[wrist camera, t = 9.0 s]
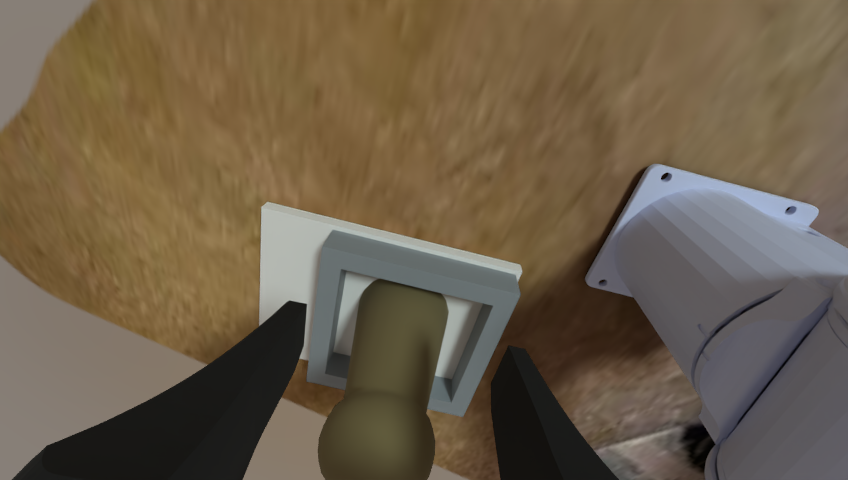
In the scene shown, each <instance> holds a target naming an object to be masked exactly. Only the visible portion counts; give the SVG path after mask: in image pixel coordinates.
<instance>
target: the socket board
mask: <svg viewBox="0 0 848 480" xmlns="http://www.w3.org/2000/svg"><path fill="white" fill-rule="evenodd" d="M521 274H522V269H521V265H519V264H515V263H511V262H507V261H503V260H499V259H495V258H491V257H487V256H483V255H479V254H475V253H471V252H467V251H463V250H459V249H455V248H451V247H447V246H443V245H439V244H435V243H431V242H427V241H423V240H419V239H415V238H411V237H407V236H403V235H399V234H395V233H391V232H387V231H383V230H379V229H375V228H371V227H367V226H363V225H359V224H355V223H351V222H347V221H343V220H339V219H335V218H331V217H327V216H323V215H319V214H315V213H311V212H307V211H303V210H299V209H295V208H291V207H287V206H282V205H278V204H274V203H270V202H267V203H266V204H265V205H263V206H262V210H261V261H260V311H259V326H260V325H261V324H263V323H264V322H265V321H266V320H267V319H268V318H269V317H271V316H272V315H273V314H274V313H275V312H276V311H277V310H278V309H279V308H281V307H282V306H283V305H284V304H285V303H286V302H288V301H289V300H290V301H295V302H300V303H305V304H307V312H306V325H305V337H304V347H303V350H302V352H301V355H300V359H304V360H308V361H309V362H308V371H307V379H306V381H307V382H311V383H316V384H320V385H325V386H329V387H333V388H338V389H342V390H345V388H346V382H347V376H348V369H349V363H350V357H351V350H352V344H353V338H354V332H355V325H356V319H357V313H358V306H359V300H360V298H361V296H362V293H363V291H364V290H365V289H366V288H367V287H368V286H369V285H370V284H371V283H372V282H373V281H375V280H377V279H385V280H389V281H393V282H397V283H401V284H405V285H409V286H413V287H418V288H422V289H426V290H430V291H434V292H438V293H441V294H442V295H443V297H444V298H445V300H446V302H447V306H448V310H449V314H448V319H447V325H446V329H445V333H444V338H443V342H442V346H441V351H440V355H439V359H438V364H437V368H436V373H435V377H434V381H433V386H432V390H431V394H430V399H429V403H428V407H427V409H430V410H435V411H439V412H443V413H448V414H452V415H457V416H461V417H463V416H464V414H465V412H466V410H467V408H468V405H469V403H470V401H471V399H472V397H473V395H474V393H475V391H476V388H477V386H478V384H479V382H480V380H481V378H482V376H483V374H484V372H485V369H486V367H487V365H488V363H489V361H490V359H491V357H492V355H493V352H494V350H495V348H496V346H497V344H498V342H499V340H500V338H501V335H502V333H503V331H504V329H505V327H506V325H507V323H508V321H509V319H510V316H511V314H512V312H513V310H514V308H515V306H516V304H517V302H518V299H519V297H520V295H521V294H520V290H519V286H518V280H519V278H520V276H521Z"/></svg>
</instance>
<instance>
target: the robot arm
mask: <svg viewBox="0 0 848 480" xmlns="http://www.w3.org/2000/svg"><path fill="white" fill-rule="evenodd" d="M665 173H668V176H667V177H666V178H665V179H663V180H661V176H662V175H663V174H665ZM788 207H790V209H789V210H788V211H786V209H787V208H788ZM818 212H819V210H818V208H816V207H814V206H812V205H810V204H807V203H803V202H800V201H796V200H792V199H788V198H785V197H781V196H777V195H773V194H770V193H766V192H762V191H759V190H755V189H751V188H747V187H744V186H740V185H736V184H732V183H729V182H725V181H721V180H717V179H714V178H710V177H706V176H702V175H699V174H695V173H691V172H687V171H684V170H680V169H676V168H673V167H669V166H665V165H661V164H653V165H651V166H649V167H648V168H647V169H646V170H645V172H644V174H643V176H642V177H641V179H640V181H639V183H638V184H637V186H636V188H635V190H634V191H633V193H632V195H631V197H630V198H629V200H628V202H627V204H626V206H625V207H624V209H623V211H622V213H621V214H620V216H619V218H618V220H617V221H616V223H615V225H614V227H613V229H612V230H611V232H610V234H609V236H608V237H607V239H606V241H605V243H604V244H603V246H602V248H601V250H600V252H599V253H598V255H597V257H596V259H595V260H594V262H593V264H592V266H591V267H590V269H589V271H588V273H587V275H586V277H585V281H586V283H587V284H588V286H590V287H593V288H597V289H602V290H606V291H610V292H614V293H618V294H622V295H626V296H630V297H634V299H635V300H636V302H637V303H638V305H639V306H640V308H641V309H642V311H643V312H644V314H645V315H646V317H647V318H648V320H649V321H650V323H651V324H652V326H653V327H654V329H655V330H656V332H657V333H658V335H659V336H660V338H661V339H662V341H663V342H664V344H665V345H666V347H667V348H668V350H669V351H670V353H671V354H672V356H673V357H674V359H675V360H676V362H677V363H678V365H679V366H680V368H681V369H682V371H683V372H684V374H685V375H686V377H687V378H688V380H689V381H690V383H691V384H692V386H693V387H694V389H695V391H696V392H697V394H698V395H699V397H700V399H701V401H702V411H701V413H700V415H699V418H700V420H701V422H702V423H703V425H704V426H705V428H706V430H707V431H708V433H709V434H710V436H711V438H712V439H713V441H714V442H715V444H716V445H715V446H714V447H713V448H712V450H711V451H710V452H709V455H708V457H707V459H706V464H705V471H704V473H705V480H848V248H846V247H844V246H842V245H840V244H839V243H837V242H835V241H833V240H831V239H830V238H828V237H826V236H824V235H822V234H821V233H819V232H817V231H815V230H813V229H812V228H810V227H808V226H809V225H810V224H811V223H812V221H813V220H814V219H815V218H816V217H817V215H818ZM600 280H605V281H604V282H602V283H599V281H600ZM306 312H307V304H305V303H300V302H295V301H290V300H289V301H288V302H286V303H285V304H284V305H283V306H282V307H281V308H279V309H278V310H277V311H276V312H275V313H274V314H273V315H272V316H271V317H269V318H268V319H267V320H266V321H265V322H264V323H263V324H261V325H260V326H259V327H258V328H257V329H255V330H254V331H253V332H252V333H250V334H249V335H248V336H247V337H245V338H244V339H243V340H242V341H240V342H239V343H238V344H236V345H235V346H234V347H232V348H231V349H230V350H228V351H227V352H226V353H224V354H223V355H221V356H220V357H219V358H217V359H216V360H214V361H213V362H212V363H210V364H209V365H207V366H206V367H204V368H203V369H201V370H199V371H198V372H196V373H195V374H193V375H192V376H190V377H189V378H187V379H185V380H183V381H182V382H180V383H178V384H177V385H175V386H173V387H172V388H170V389H168V390H166V391H164V392H163V393H161V394H159V395H157V396H156V397H154V398H152V399H150V400H148V401H146V402H144V403H142V404H140V405H138V406H136V407H134V408H132V409H130V410H128V411H126V412H124V413H122V414H120V415H117V416H115V417H114V418H111V419H109V420H107V421H105V422H103V423H101V424H99V425H96V426H94V427H91V428H89V429H87V430H84V431H82V432H79V433H77V434H75V435H72V436H70V437H67V438H65V439H63V440H60V441H58V442H55V443H53V444H50V445H47V446H46V447H45V448H44V449H43V450H42V451H41V452H40V453H39V454H38V455H36V456H35V457H34V458H33V459H32V460H31V461H30V462H29V463H28V464H27V465H26V466H25V467H24V468H23V469H22V470H21V471H20V472H19V473H18V474H17V475H16V476H15V477H14V478H13V479H12V480H242V479H243V477H244V475H245V472H246V470H247V467H248V465H249V462H250V460H251V458H252V455H253V453H254V450H255V448H256V446H257V444H258V441H259V439H260V437H261V435H262V433H263V431H264V429H265V427H266V425H267V423H268V422H269V419H270V418H271V416H272V414H273V412H274V410H275V408H276V406H277V404H278V402H279V400H280V399H281V397H282V395H283V393H284V391H285V389H286V387H287V385H288V383H289V381H290V379H291V377H292V375H293V373H294V371H295V368H296V365H297V363H298V360H299V358H300V355H301V352H302V350H303V347H304V337H305V325H306ZM491 413H492V421H493V428H494V435H495V442H496V449H497V456H498V464H499V471H500V478H501V480H619V479H618V478H617V477H616V476H615V475H614V474H613V473H612V472H611V470H610V469H609V468H608V467H607V466H606V465H605V464H604V462H603V461H602V460H601V459H600V458H599V456H598V455H597V454H596V453H595V452H594V450H593V449H592V448H591V447H590V445H589V444H588V443H587V442H586V440H585V439H584V438H583V437H582V435H581V434H580V433H579V431H578V430H577V429H576V427H575V426H574V424H573V423H572V422H571V420H570V419H569V418H568V416H567V415H566V413H565V412H564V410H563V409H562V407H561V406H560V404H559V403H558V401H557V400H556V398H555V397H554V395H553V394H552V392H551V391H550V389H549V387H548V386H547V384H546V383H545V381H544V379H543V378H542V376H541V374H540V373H539V371H538V370H537V368H536V366H535V365H534V363H533V361H532V360H531V358H530V356H529V355H528V353H527V351H526V350H525V349H523V348H518V347H513V346H508V348H507V350H506V352H505V354H504V356H503V358H502V361H501V363H500V365H499V367H498V369H497V371H496V374H495V376H494V378H493V380H492V382H491Z"/></svg>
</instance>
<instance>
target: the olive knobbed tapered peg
mask: <svg viewBox="0 0 848 480" xmlns="http://www.w3.org/2000/svg"><path fill="white" fill-rule="evenodd" d="M448 314H449V310H448V306H447V302H446V300H445V298H444V297H443V295H442V294H441V293H438V292H434V291H430V290H426V289H422V288H418V287H413V286H409V285H405V284H401V283H397V282H393V281H389V280H385V279H377V280H375V281H373V282H372V283H371V284H370V285H369V286H368V287H367V288H366V289H365V290H364V291H363V293H362V296H361V298H360V300H359V306H358V313H357V319H356V325H355V332H354V338H353V344H352V350H351V357H350V363H349V369H348V376H347V382H346V388H345V395H344V399H343V400H342V401H340V402H339V403H338V404H337V405H335V407H334V408H333V410H332V411H331V413H330V414H329V416H328V418H327V420H326V422H325V424H324V426H323V429H322V431H321V434H320V437H319V444H318V445H319V446H318V459H319V465H320V469H321V473H322V475H323V476H324V478H325V480H427V479H428V477H429V475H430V472H431V468H432V465H433V460H434V455H435V438H434V433H433V428H432V425H431V422H430V419H429V417H428V416H427V414H426V412H427V407H428V403H429V399H430V394H431V390H432V386H433V381H434V377H435V373H436V368H437V364H438V359H439V355H440V351H441V346H442V342H443V338H444V333H445V329H446V325H447V319H448Z"/></svg>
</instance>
